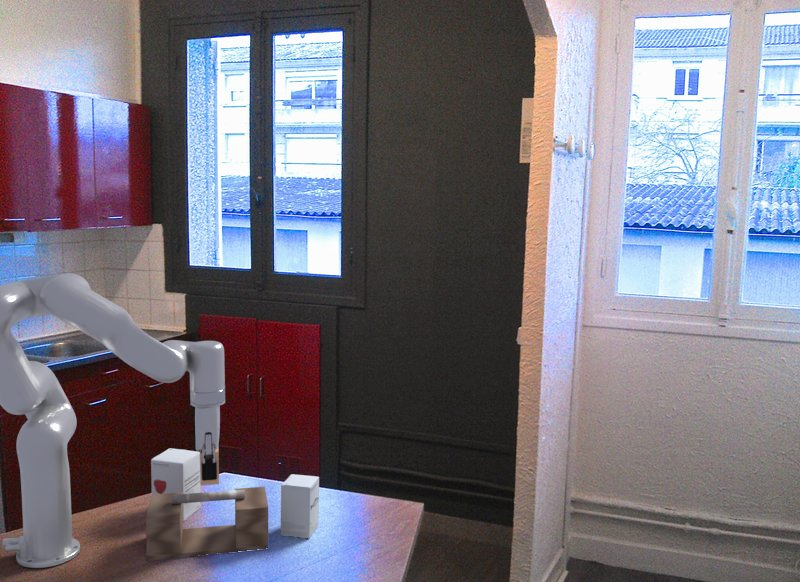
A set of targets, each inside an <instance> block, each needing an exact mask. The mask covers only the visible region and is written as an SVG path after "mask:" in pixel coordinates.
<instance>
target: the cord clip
mask: <svg viewBox="0 0 800 582" xmlns="http://www.w3.org/2000/svg"><path fill="white" fill-rule="evenodd" d="M212 448H213V446H211V449H212ZM204 449H206V446H204ZM199 452H200V486H201V487H202V486H212V485H214V486H215V485H220V468H219V467H220V466H219V465H220V462H219V461H220V458H219V455H220V454H219V453H220V452H219V448H218V449H216V450H215V462H216V461H217V479H216V480H205V481H203V480H202V462H203V454H202V449H201V450H199ZM205 454H206V452H205ZM211 454H213V451H211Z"/></svg>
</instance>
